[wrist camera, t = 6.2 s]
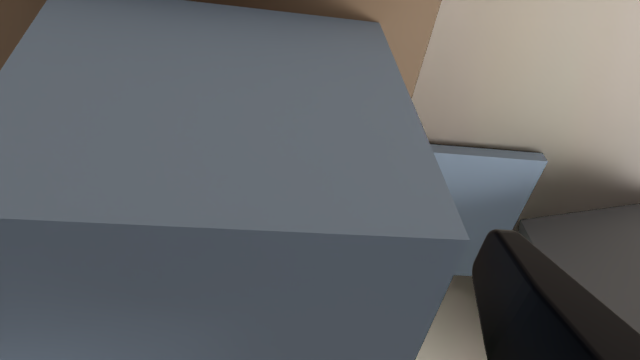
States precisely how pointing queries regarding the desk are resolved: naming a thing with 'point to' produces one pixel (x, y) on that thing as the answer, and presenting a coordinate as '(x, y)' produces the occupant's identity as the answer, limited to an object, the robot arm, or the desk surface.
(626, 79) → the desk surface
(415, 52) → the walnut plinth
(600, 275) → the charcoal cube
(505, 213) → the swatch
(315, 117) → the blue cube
